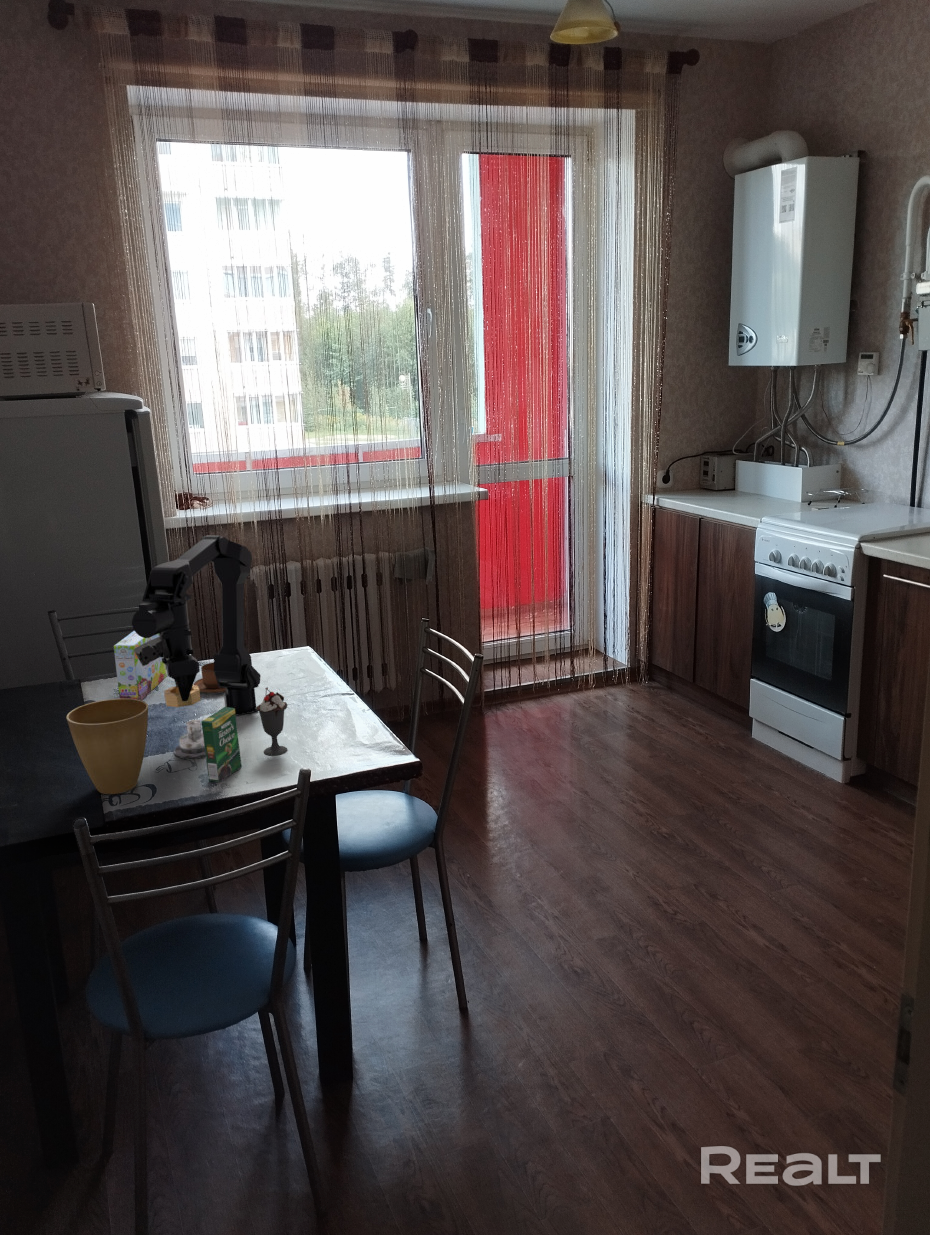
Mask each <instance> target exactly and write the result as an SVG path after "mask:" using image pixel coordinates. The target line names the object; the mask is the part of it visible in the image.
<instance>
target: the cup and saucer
mask: <svg viewBox="0 0 930 1235" xmlns="http://www.w3.org/2000/svg"><path fill="white" fill-rule="evenodd" d="M200 669H201V678H200V679H198V680H197V679H196V681H194V683H193V685H195V686H198V688H199V690H200V693H205V694H206V693H207V694H214V693H215V694H216V693H218V694H219V693H224V692H226V688H224V687H222V688H219V685H218V683H217V680H216V677H215V674H214V671H213V669H214V661H212V662H209V663H206V664H204V665H202V666H201V668H200Z"/></svg>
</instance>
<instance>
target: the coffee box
mask: <svg viewBox="0 0 930 1235" xmlns="http://www.w3.org/2000/svg"><path fill="white" fill-rule="evenodd" d="M236 716H237V715H235V708H229V707H225V706H223V707H222V708H220V709H219V710H217V711H216V712H214V713H212V714H211V715H210V716H208V717H206V718H204V719H203V720H202V721H201V731H202V732H203V738H204V746H205V753H206V756H205V760H206V768H207V769H206V770H207V777H208V782H214V783H221V782H222V781H224V780H226V779H227V778H228V777H230V776H231V775H232V774H234V773H235V772H237V771H238V770H240V769H241V768H242V767H243V766H242V758H241V748H240V743H239V742H240V741H239V734H238V724H237V717H236Z"/></svg>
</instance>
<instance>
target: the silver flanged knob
mask: <svg viewBox="0 0 930 1235" xmlns="http://www.w3.org/2000/svg"><path fill="white" fill-rule="evenodd" d="M186 729H187V733H185V734H183V735H182V736H180V737H179V739H178V740H179V745H178V746H177V747H175V749H174V755H175V756H176V757H177V758H180V759H187V760H191V759H200V758H206V753H205V746H204V738H203V731H202V723H201V720H200V719H191V720H188V721H187V722H186Z"/></svg>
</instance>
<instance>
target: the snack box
mask: <svg viewBox="0 0 930 1235" xmlns="http://www.w3.org/2000/svg"><path fill="white" fill-rule="evenodd" d="M157 637H159V634H156V635H154V636H152V637H150V638H143V637H141V636H139V635H138V634H137V633H136V632H135V631H134V630H133V631H132V632H130V633H129V634H128V635H127V636H125V637H124V638H122V639H121V640H120V641H118V642H117V643H116V644H114V645H113V651H114V652H113V653H114V660H115V671H116V678H117V688H118V697H119V698H118V699H137V700H141V701H143V699H144V698H146V697H147V696H148V695H149V694H150V693H151V692H153V690H155V688H156V687H157V686H159V685H160V683H161V682H163V681H164V680H165V679H166V678H167V676H168V674H167V669H166V665H165V664H164V663H163V662H162V658H163V657H162V658H161V657H160V658H158V659H156V660H154V661H151V662H150V663H149V664H148V665H145V666H142V664H141V663H140V661H139V659H138V657H137V655H136V653H135V651H134V649H135V648H136V647H138V646H140V645H142V644H144V643H146V642H148V641H150V640H152V639H155V638H157Z"/></svg>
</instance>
